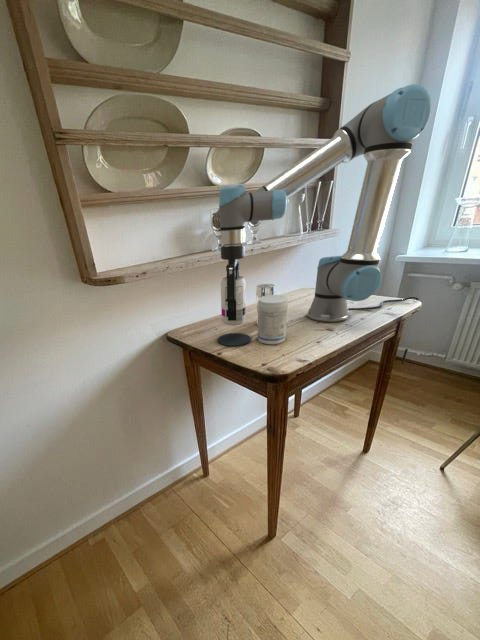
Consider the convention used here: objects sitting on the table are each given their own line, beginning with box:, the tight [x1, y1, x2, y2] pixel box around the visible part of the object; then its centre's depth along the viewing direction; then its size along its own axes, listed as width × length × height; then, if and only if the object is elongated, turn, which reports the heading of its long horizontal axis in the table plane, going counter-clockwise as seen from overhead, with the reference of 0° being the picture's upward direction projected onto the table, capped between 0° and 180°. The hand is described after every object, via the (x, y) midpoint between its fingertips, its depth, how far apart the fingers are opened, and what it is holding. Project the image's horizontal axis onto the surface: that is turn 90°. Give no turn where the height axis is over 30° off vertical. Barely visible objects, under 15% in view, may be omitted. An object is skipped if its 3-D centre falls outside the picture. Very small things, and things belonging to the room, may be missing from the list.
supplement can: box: [220, 275, 247, 326], centre depth 102 cm, size 8×8×15 cm
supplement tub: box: [257, 294, 289, 345], centre depth 102 cm, size 10×10×15 cm
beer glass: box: [255, 283, 275, 326], centre depth 117 cm, size 7×7×15 cm
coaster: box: [217, 332, 252, 347], centre depth 109 cm, size 12×12×1 cm
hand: (233, 316), depth 104 cm, fingers closed on supplement can, 8 cm apart
